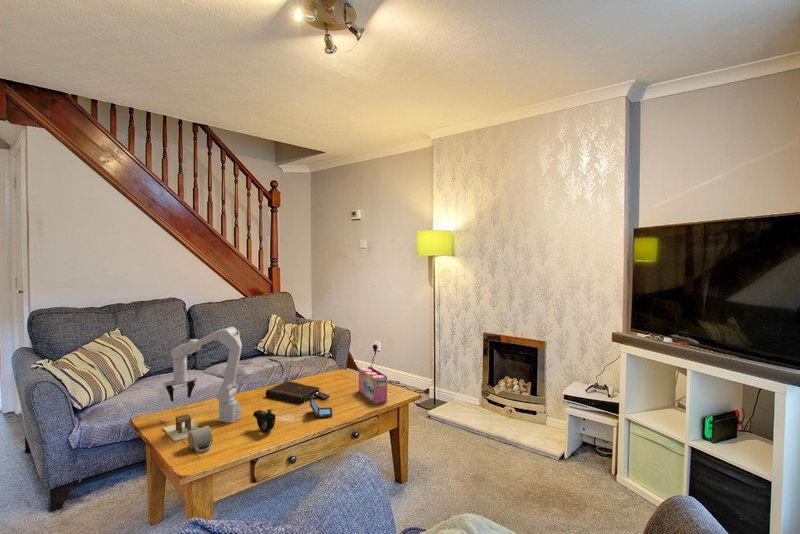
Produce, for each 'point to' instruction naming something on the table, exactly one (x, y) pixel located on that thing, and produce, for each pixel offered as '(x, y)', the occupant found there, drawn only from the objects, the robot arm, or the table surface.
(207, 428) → the ceramic mug
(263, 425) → the controller
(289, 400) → the black media player box
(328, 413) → the handheld game console
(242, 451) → the table surface
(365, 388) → the gum box
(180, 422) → the stool
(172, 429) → the mat
